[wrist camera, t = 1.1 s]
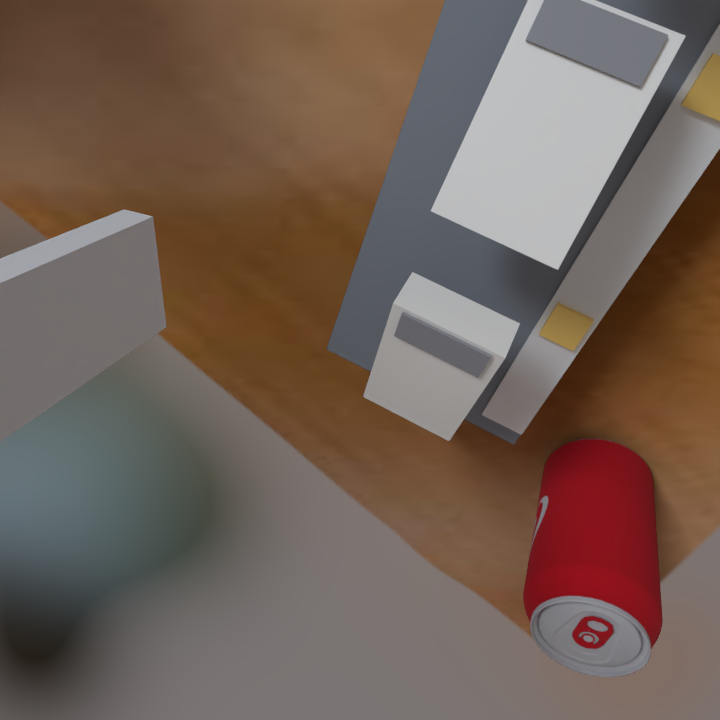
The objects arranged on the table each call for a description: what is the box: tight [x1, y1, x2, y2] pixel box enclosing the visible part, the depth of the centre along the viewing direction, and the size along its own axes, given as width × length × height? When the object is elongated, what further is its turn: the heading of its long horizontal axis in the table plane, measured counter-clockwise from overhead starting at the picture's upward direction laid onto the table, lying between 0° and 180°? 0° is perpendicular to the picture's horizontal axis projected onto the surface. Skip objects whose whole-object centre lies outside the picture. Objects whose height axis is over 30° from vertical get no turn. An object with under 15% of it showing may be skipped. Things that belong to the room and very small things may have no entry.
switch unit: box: [327, 0, 720, 445], centre depth 24 cm, size 12×32×6 cm, turn 161°
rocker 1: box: [363, 272, 520, 441], centre depth 27 cm, size 5×8×2 cm, turn 161°
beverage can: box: [523, 439, 662, 677], centre depth 31 cm, size 6×6×12 cm
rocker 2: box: [431, 0, 686, 270], centre depth 20 cm, size 5×8×2 cm, turn 161°
